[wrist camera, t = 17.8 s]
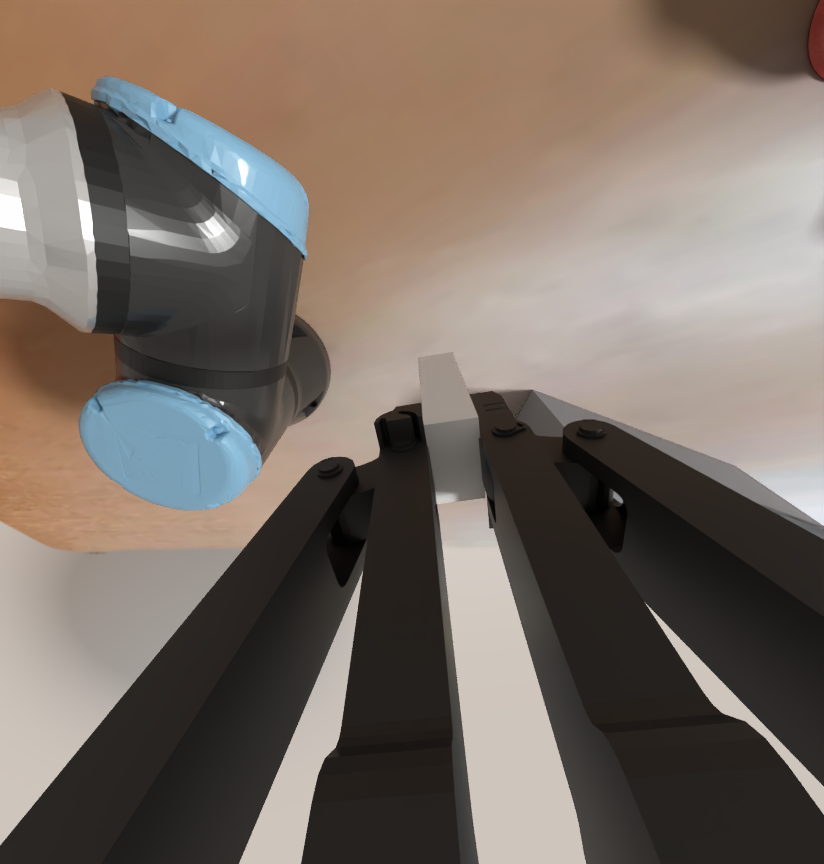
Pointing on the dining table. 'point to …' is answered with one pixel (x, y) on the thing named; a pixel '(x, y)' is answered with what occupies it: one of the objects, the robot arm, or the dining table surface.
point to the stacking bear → (817, 40)
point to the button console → (555, 414)
